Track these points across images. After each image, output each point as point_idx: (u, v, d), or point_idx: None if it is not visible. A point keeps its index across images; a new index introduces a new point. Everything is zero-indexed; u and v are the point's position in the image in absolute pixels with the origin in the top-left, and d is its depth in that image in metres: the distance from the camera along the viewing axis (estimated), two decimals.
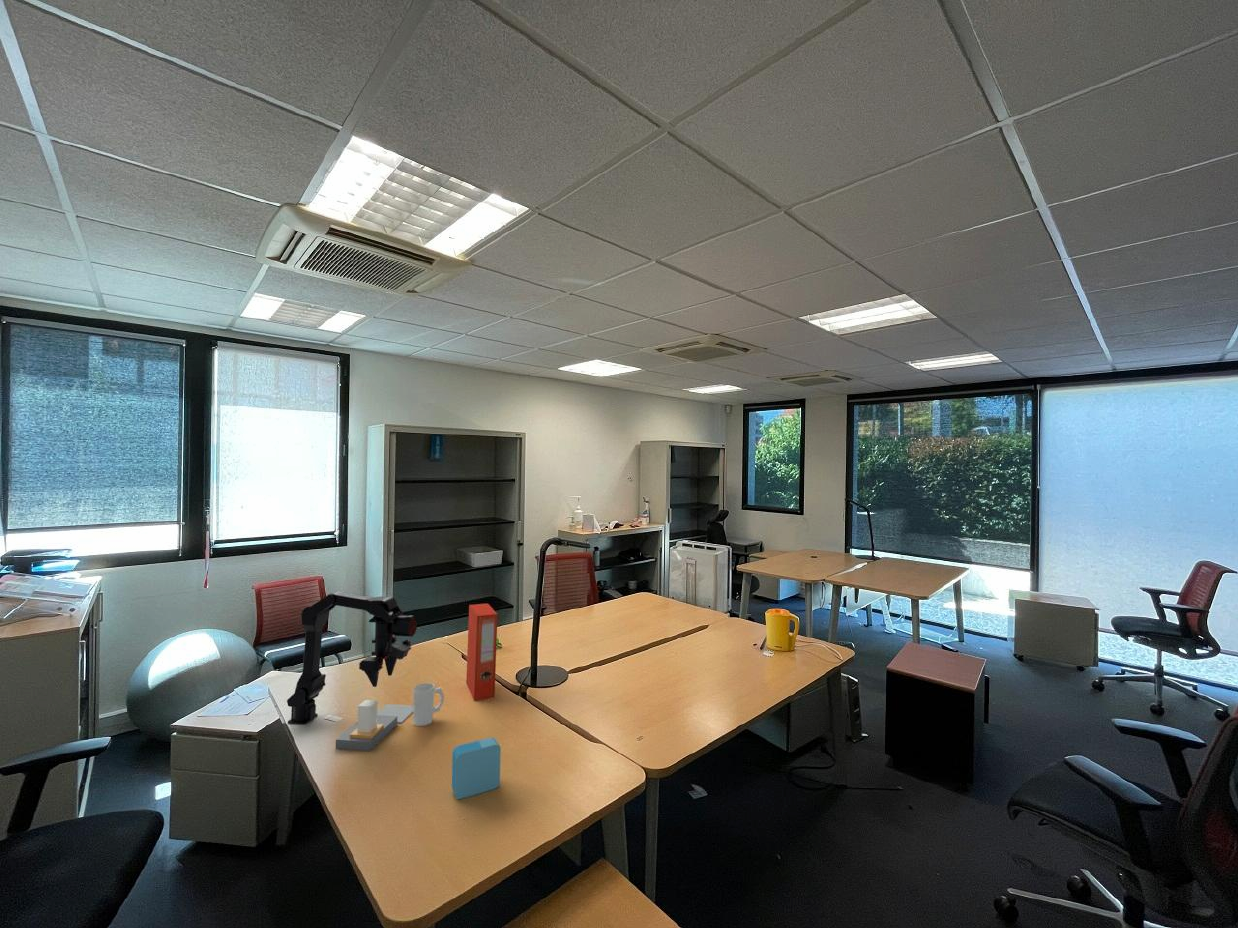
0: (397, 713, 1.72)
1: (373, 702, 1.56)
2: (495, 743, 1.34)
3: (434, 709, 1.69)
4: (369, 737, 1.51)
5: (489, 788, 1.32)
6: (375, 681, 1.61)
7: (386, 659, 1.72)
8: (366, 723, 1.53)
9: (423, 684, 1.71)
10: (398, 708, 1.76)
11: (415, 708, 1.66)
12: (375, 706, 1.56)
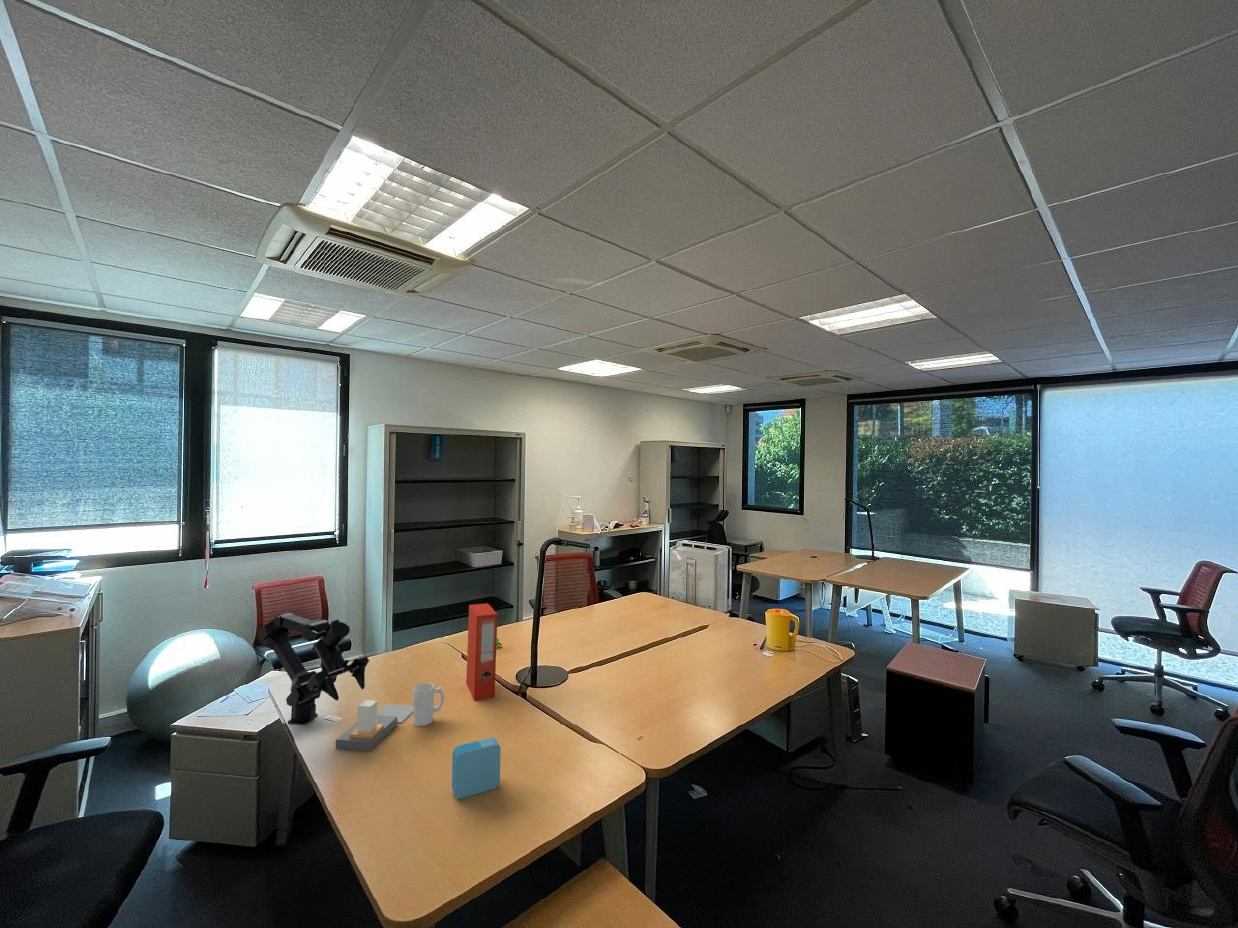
0: (397, 713, 1.72)
1: (373, 702, 1.56)
2: (495, 743, 1.34)
3: (434, 709, 1.69)
4: (369, 737, 1.51)
5: (489, 788, 1.32)
6: None
7: None
8: (366, 723, 1.53)
9: (423, 684, 1.71)
10: (398, 708, 1.76)
11: (415, 708, 1.66)
12: (375, 706, 1.56)
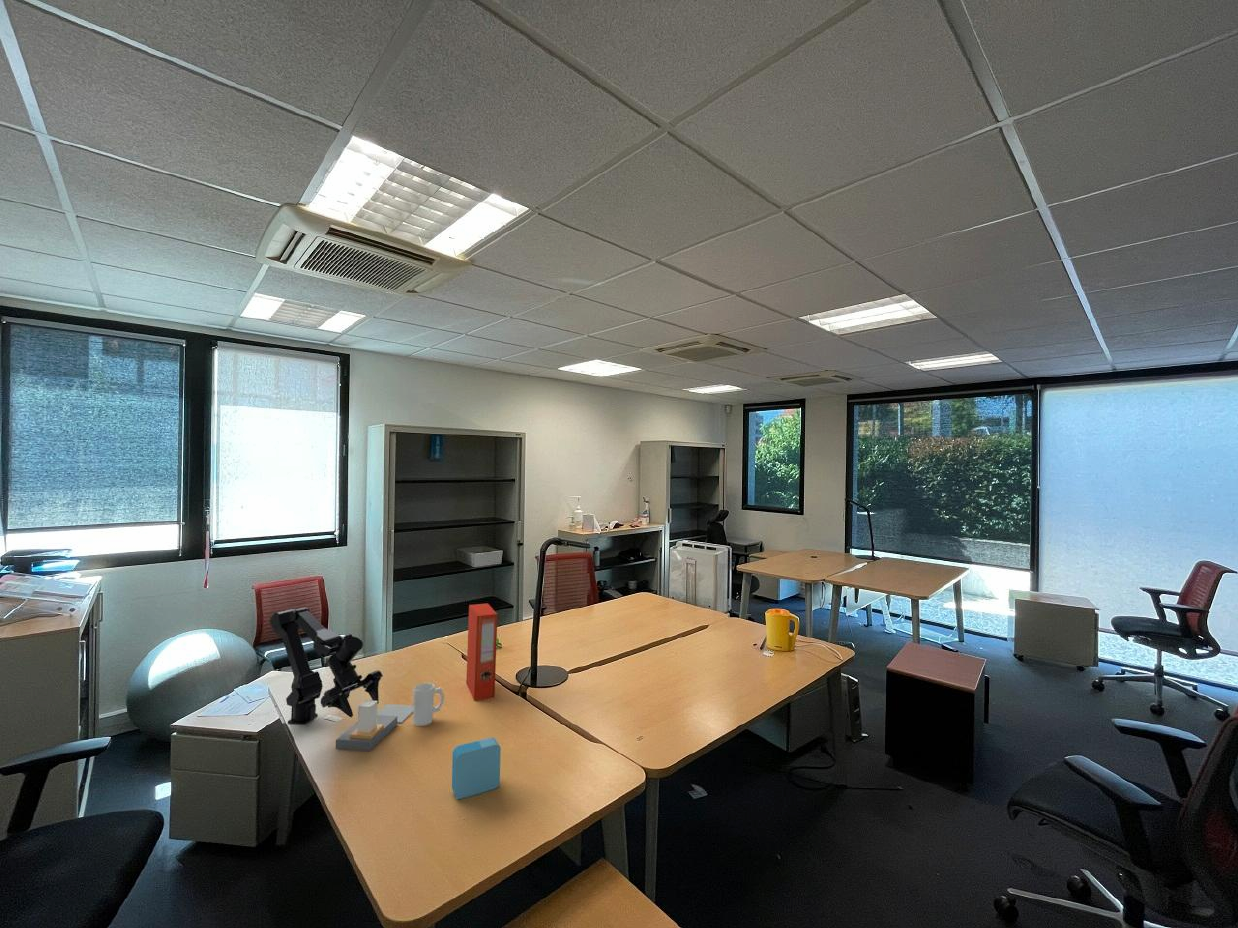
0: (397, 713, 1.72)
1: (373, 702, 1.56)
2: (495, 743, 1.34)
3: (434, 709, 1.69)
4: (369, 737, 1.51)
5: (489, 788, 1.32)
6: None
7: None
8: (366, 723, 1.53)
9: (423, 684, 1.71)
10: (398, 708, 1.76)
11: (415, 708, 1.66)
12: (375, 706, 1.56)
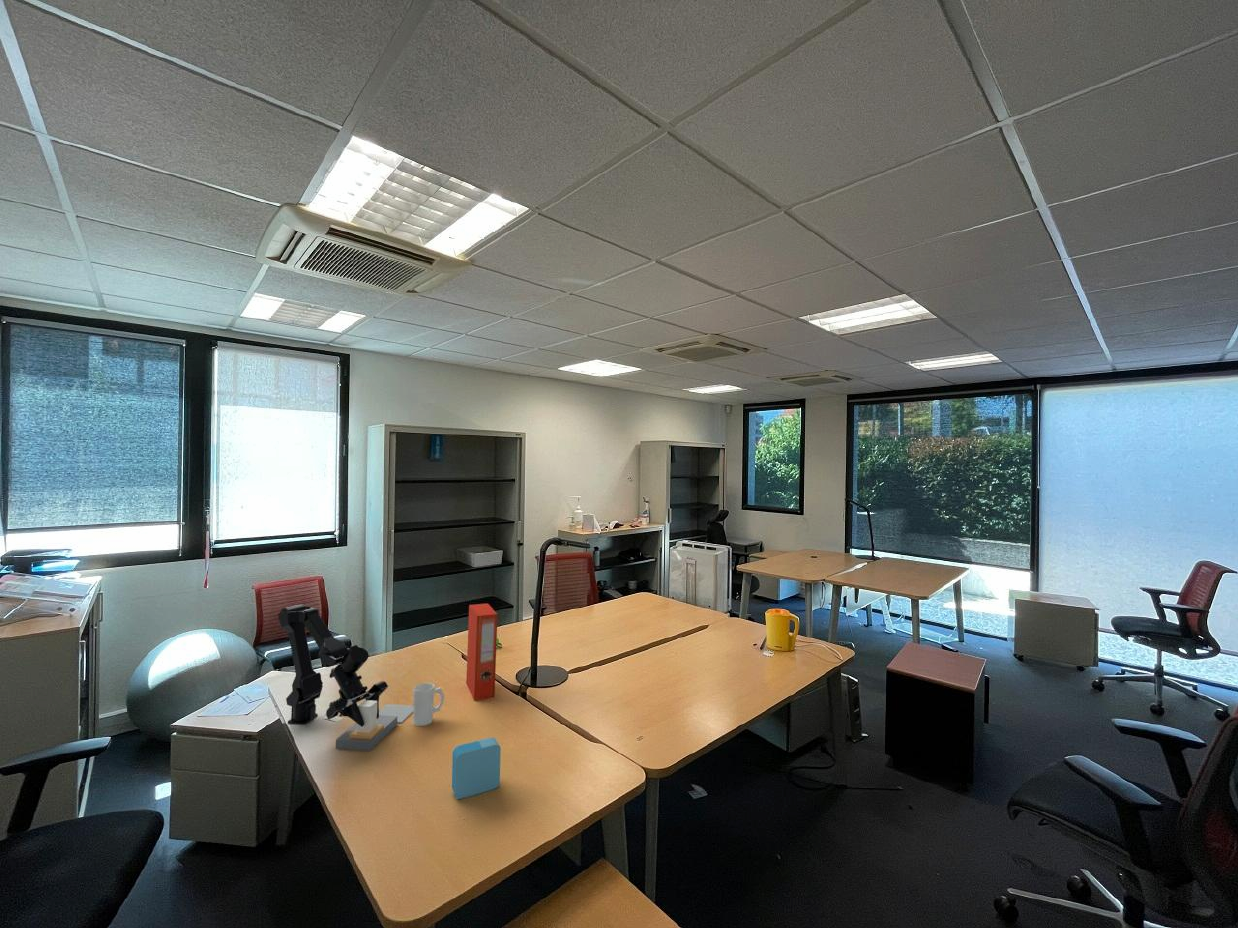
0: (397, 713, 1.72)
1: (373, 702, 1.56)
2: (495, 743, 1.34)
3: (434, 709, 1.69)
4: (369, 737, 1.51)
5: (489, 788, 1.32)
6: None
7: None
8: (365, 723, 1.53)
9: (423, 684, 1.71)
10: (398, 708, 1.76)
11: (415, 708, 1.66)
12: (375, 706, 1.56)
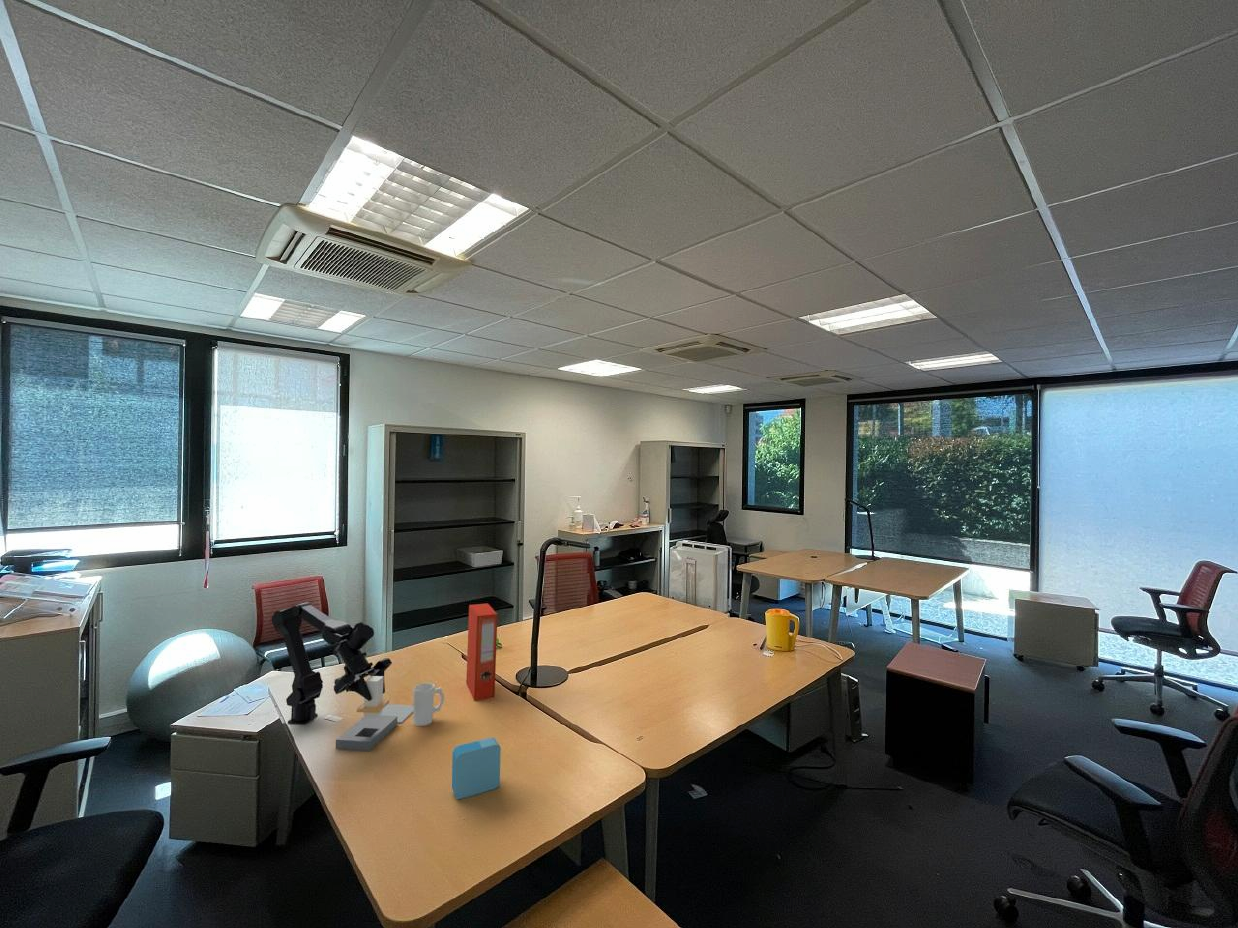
0: (397, 713, 1.72)
1: (379, 677, 1.59)
2: (495, 743, 1.34)
3: (434, 709, 1.69)
4: (377, 711, 1.54)
5: (489, 788, 1.32)
6: None
7: None
8: (373, 698, 1.56)
9: (423, 684, 1.71)
10: (398, 708, 1.76)
11: (415, 708, 1.66)
12: (381, 681, 1.59)
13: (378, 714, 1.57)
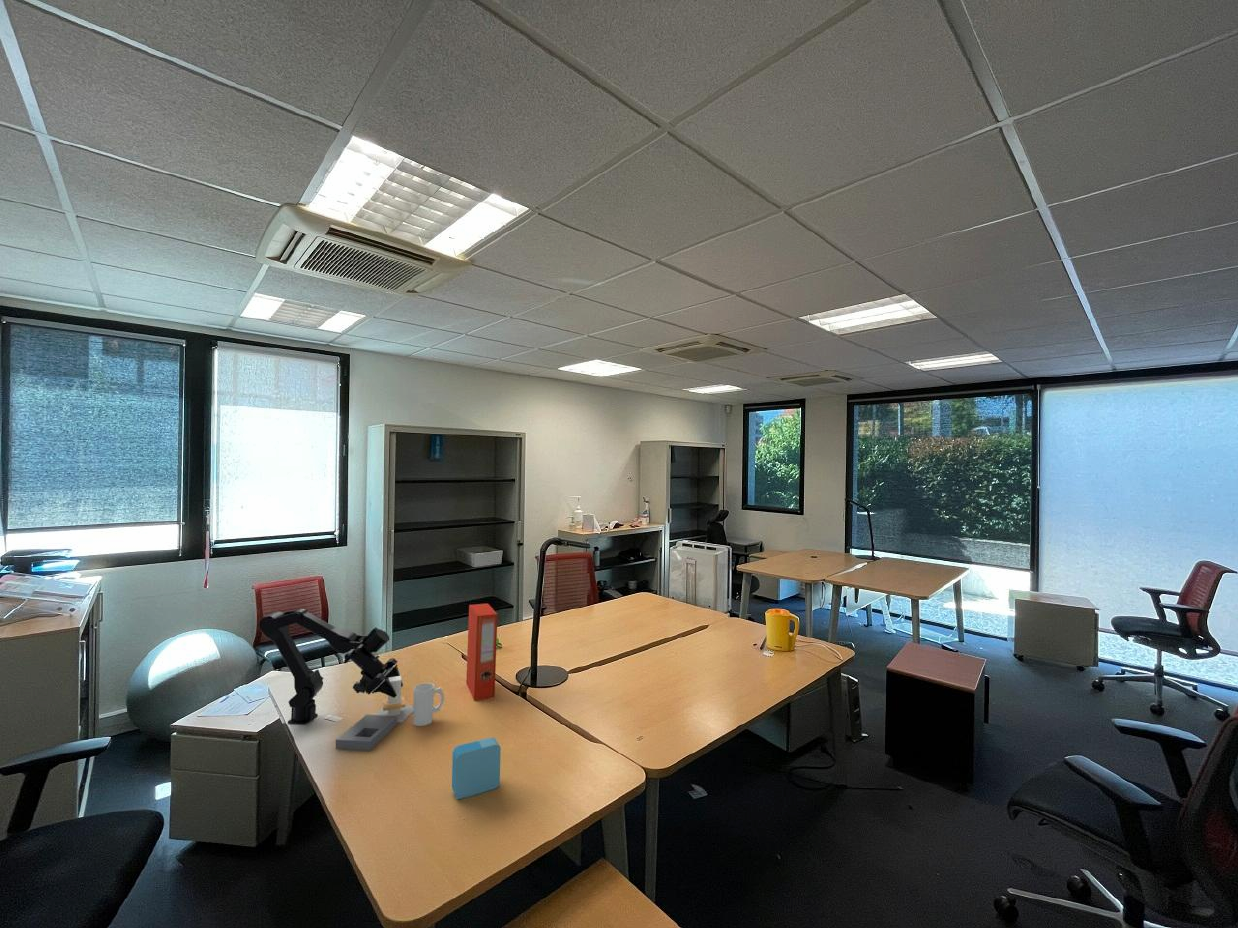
0: None
1: (399, 677, 1.75)
2: (495, 743, 1.34)
3: (434, 709, 1.69)
4: (403, 706, 1.71)
5: (489, 788, 1.32)
6: None
7: None
8: (397, 696, 1.72)
9: (423, 684, 1.71)
10: None
11: (415, 708, 1.66)
12: None
13: None
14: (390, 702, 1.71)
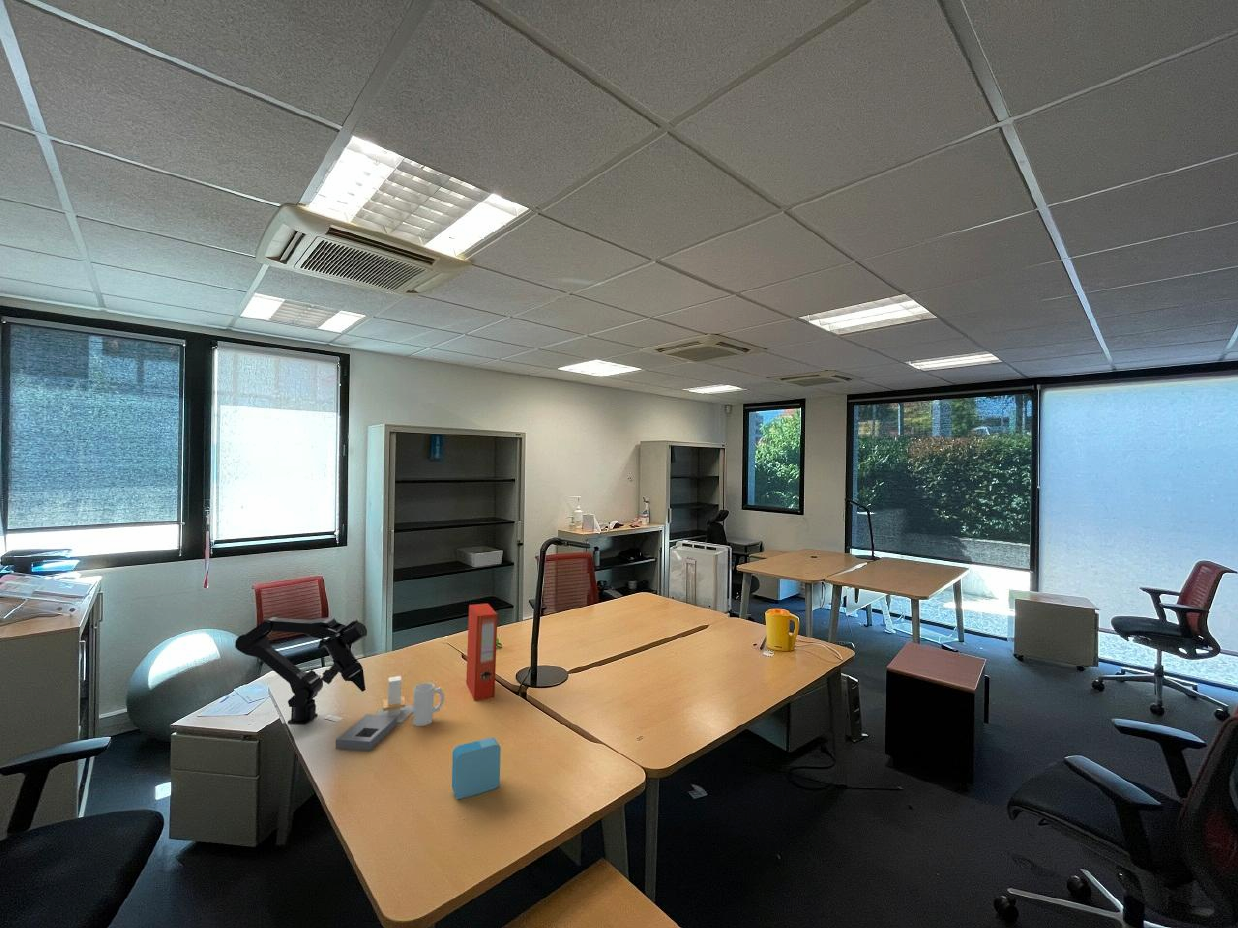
0: None
1: (399, 677, 1.75)
2: (495, 743, 1.34)
3: (434, 709, 1.69)
4: (403, 706, 1.71)
5: (489, 788, 1.32)
6: None
7: None
8: (397, 696, 1.72)
9: (423, 684, 1.71)
10: None
11: (415, 708, 1.66)
12: None
13: None
14: (390, 702, 1.71)
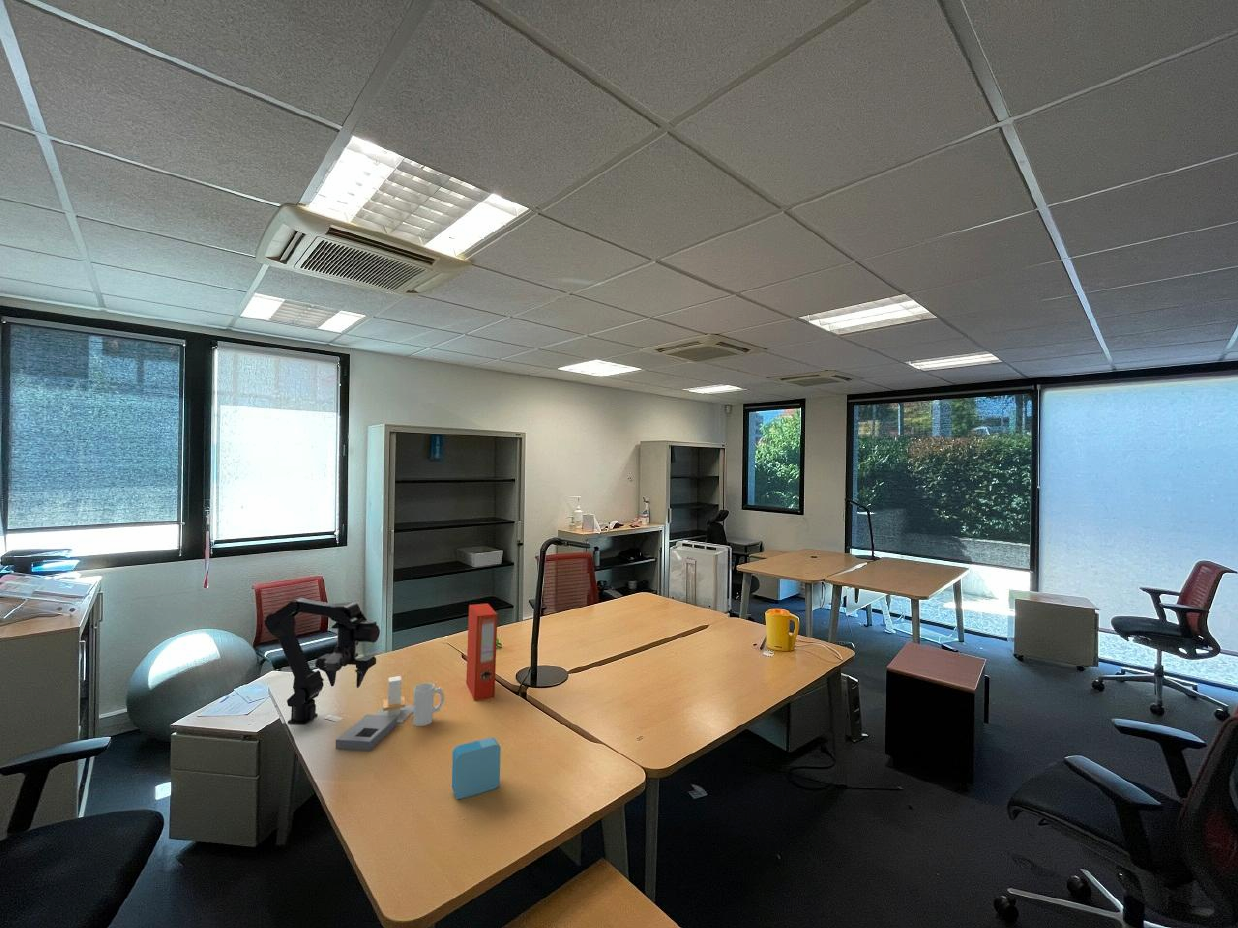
0: None
1: (399, 677, 1.75)
2: (495, 743, 1.34)
3: (434, 709, 1.69)
4: (403, 706, 1.71)
5: (489, 788, 1.32)
6: None
7: None
8: (397, 696, 1.72)
9: (423, 684, 1.71)
10: None
11: (415, 708, 1.66)
12: None
13: None
14: (390, 702, 1.71)
